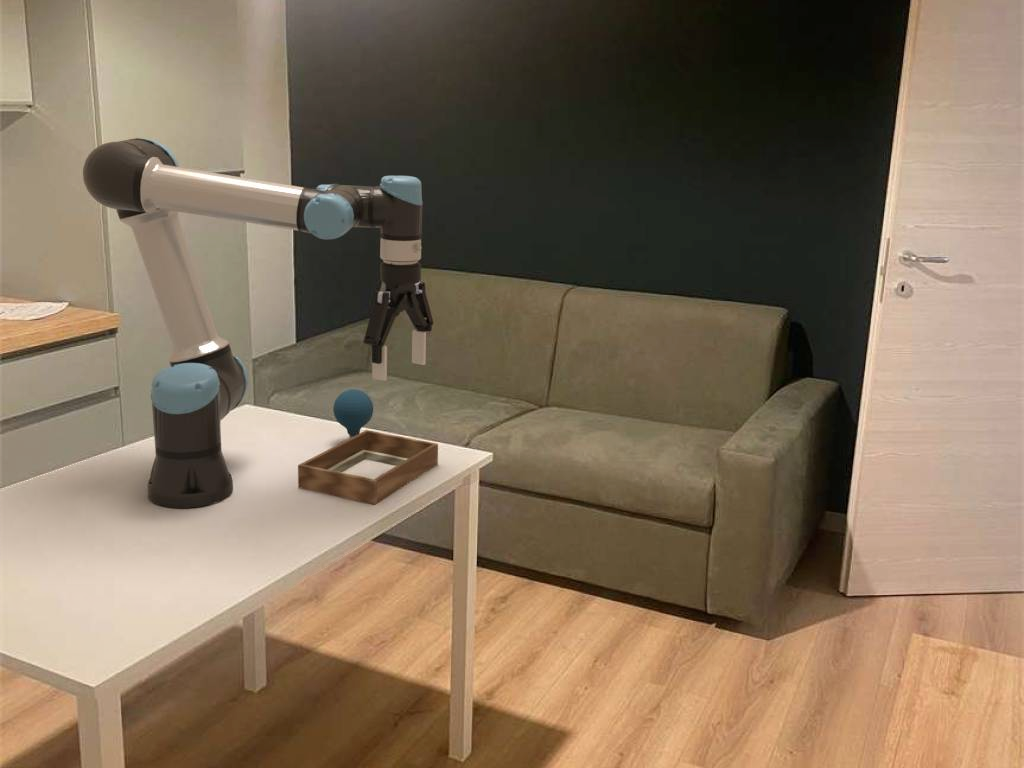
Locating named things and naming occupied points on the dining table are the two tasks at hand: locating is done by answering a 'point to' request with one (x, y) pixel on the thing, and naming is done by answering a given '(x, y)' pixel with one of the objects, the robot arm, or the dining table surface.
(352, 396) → the teal bulb shape
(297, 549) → the dining table surface
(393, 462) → the wooden frame
